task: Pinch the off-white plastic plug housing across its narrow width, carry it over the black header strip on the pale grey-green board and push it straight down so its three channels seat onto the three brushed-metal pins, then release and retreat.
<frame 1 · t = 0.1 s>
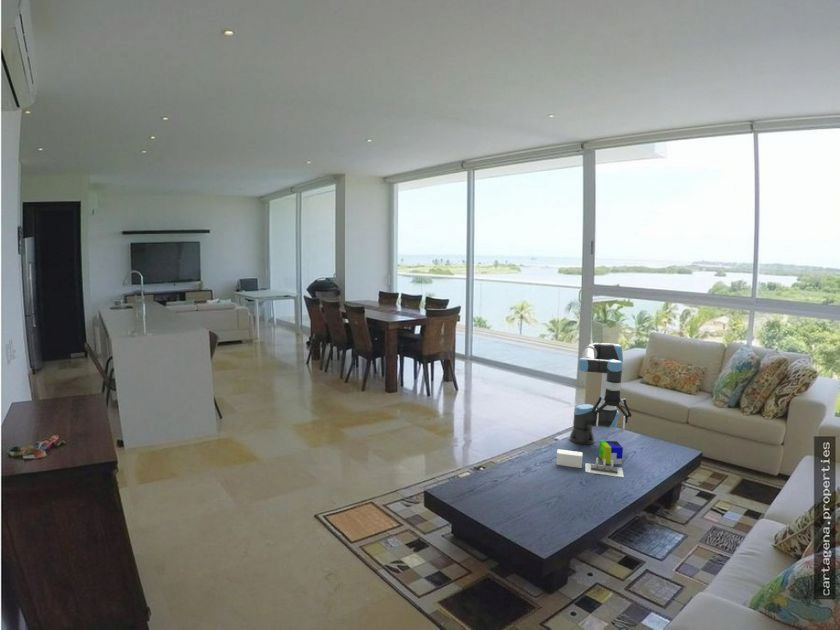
hand: (610, 426, 284), 28 cm above the table, fingers open, 13 cm apart
housing: (569, 464, 302), on the table
header: (603, 470, 295), on the table
puzzle toy: (610, 460, 309), on the table
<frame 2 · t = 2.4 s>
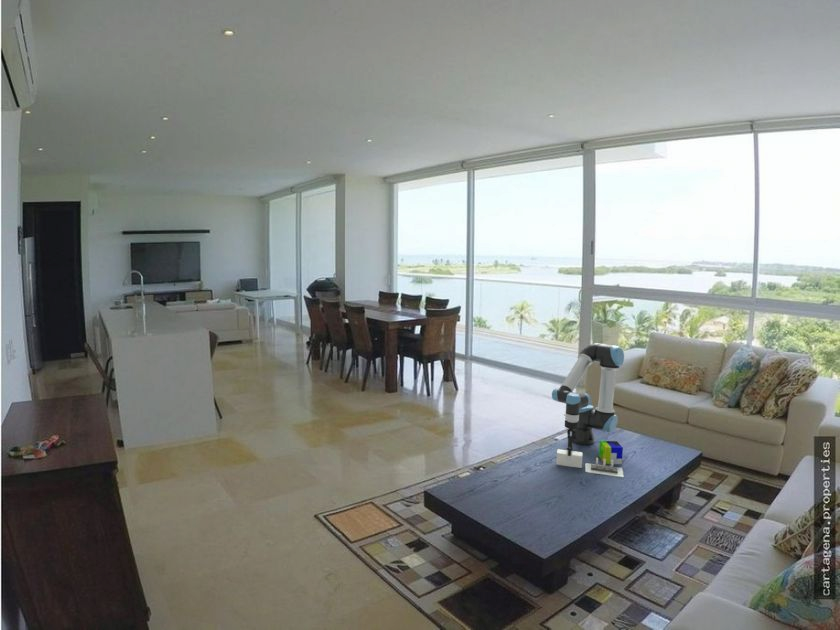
hand: (569, 456, 301), 5 cm above the table, fingers open, 13 cm apart
nothing on the table moved.
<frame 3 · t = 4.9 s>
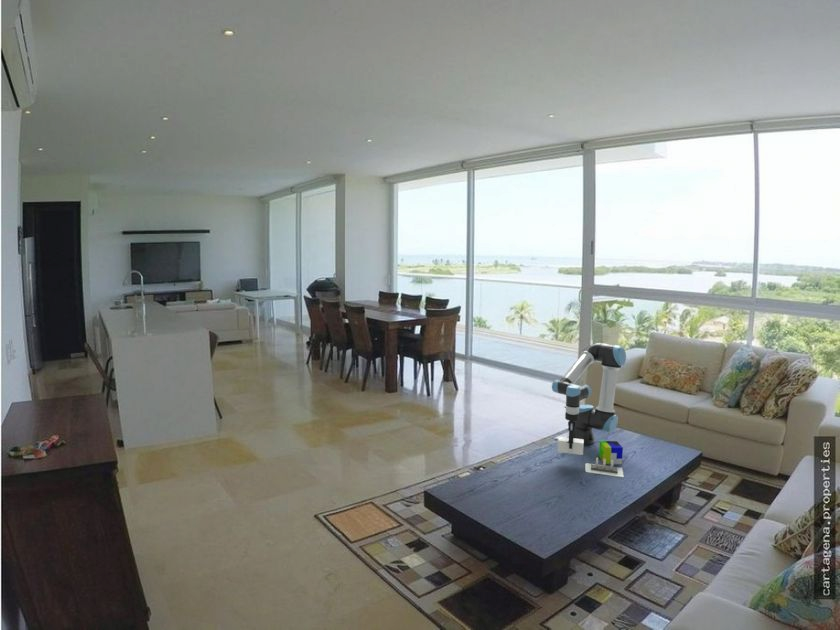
hand: (570, 450, 301), 8 cm above the table, fingers closed on housing, 6 cm apart
housing: (570, 451, 301), point 8 cm above the table, touching gripper
everything else where it was.
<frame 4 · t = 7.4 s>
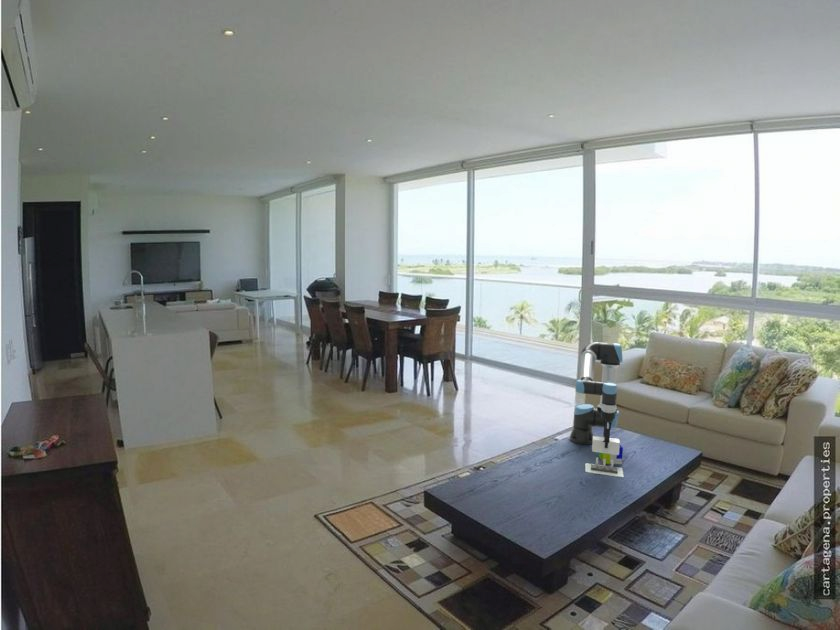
hand: (605, 450, 293), 12 cm above the table, fingers closed on housing, 6 cm apart
housing: (605, 451, 293), point 11 cm above the table, touching gripper
everything else where it was.
when the fingers open (2 cm above the table, at t = 9.9 s): housing stays where it is, resting on header.
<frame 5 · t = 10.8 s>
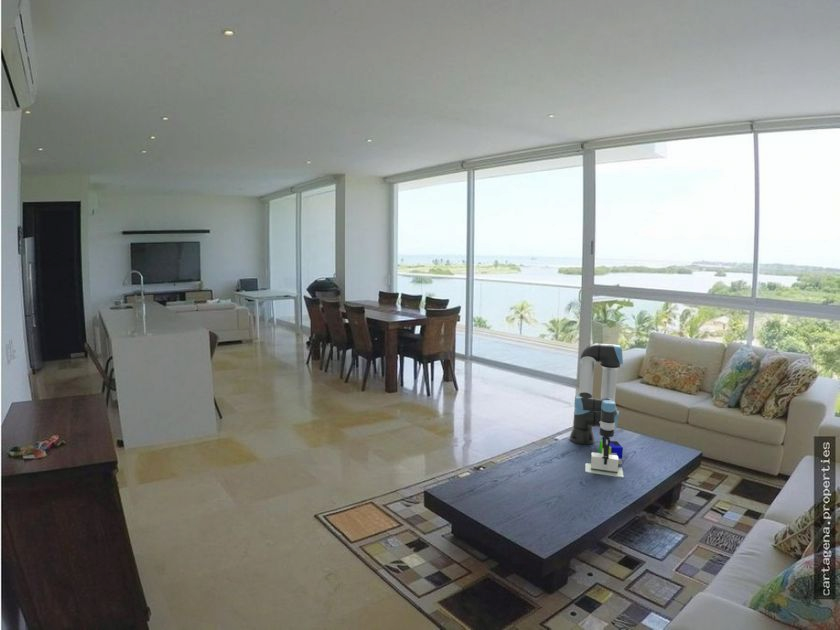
hand: (604, 464, 294), 4 cm above the table, fingers open, 13 cm apart
housing: (604, 467, 294), point 2 cm above the table, touching header
everything else where it was.
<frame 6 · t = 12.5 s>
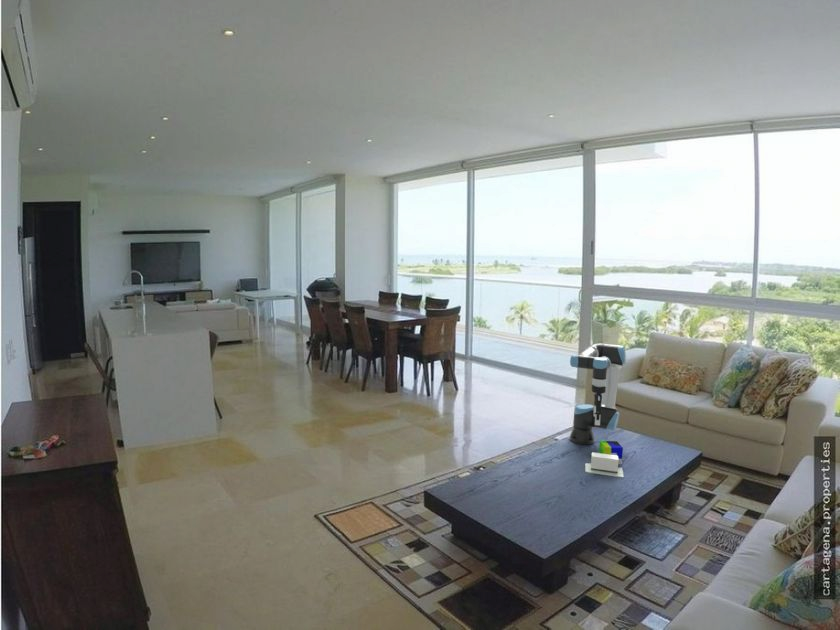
hand: (596, 420, 300), 26 cm above the table, fingers open, 13 cm apart
nothing on the table moved.
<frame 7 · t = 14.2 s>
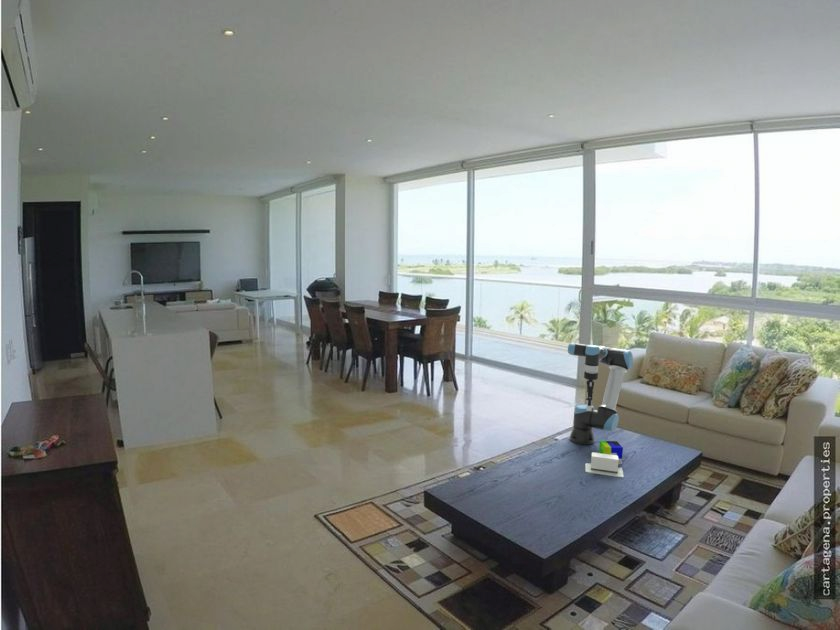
hand: (588, 407, 305), 32 cm above the table, fingers open, 13 cm apart
nothing on the table moved.
at the end: housing 0.0 cm off-centre on the header, point 1.6 cm above the header's base; housing tilted 0°; the gripper is holding nothing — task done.
